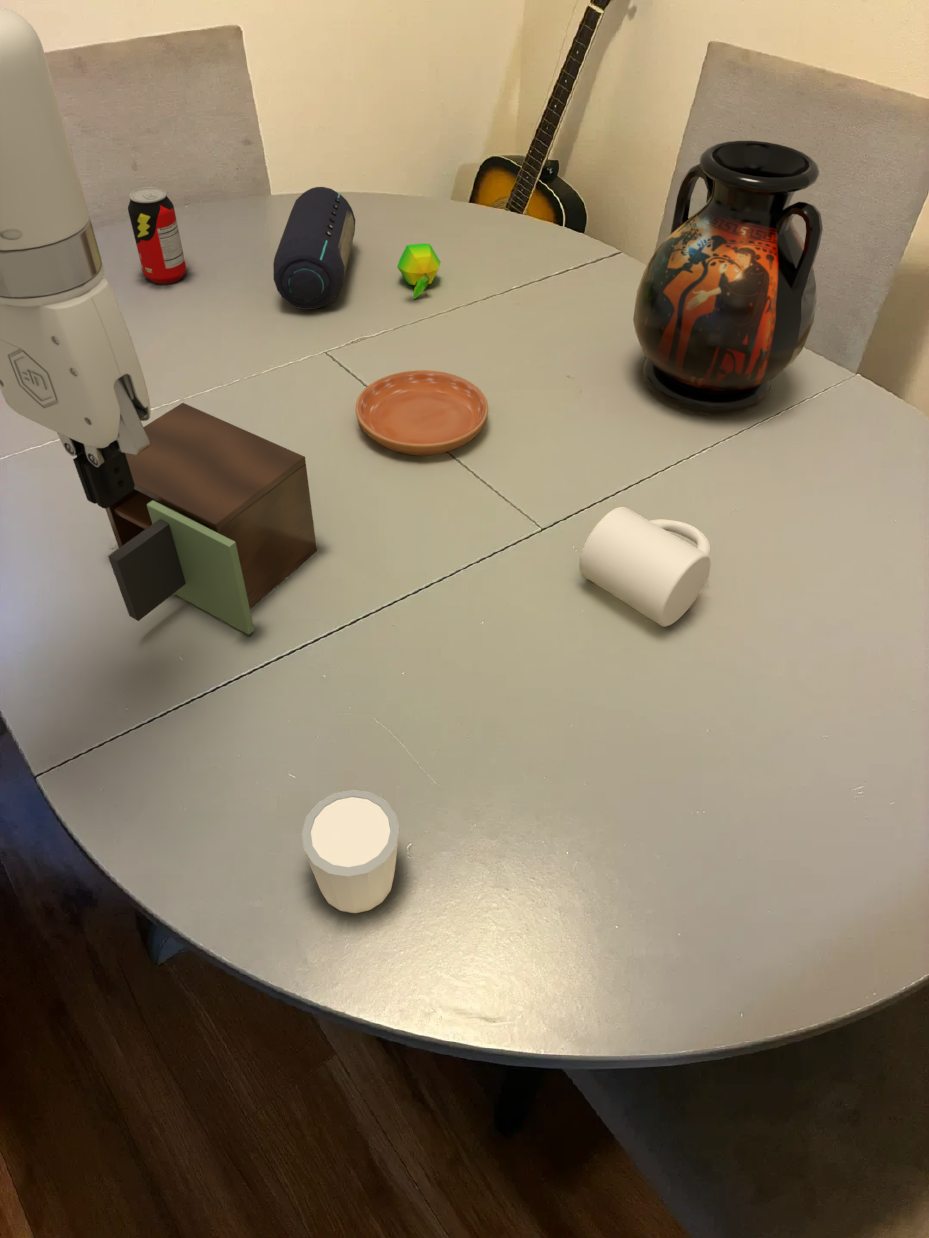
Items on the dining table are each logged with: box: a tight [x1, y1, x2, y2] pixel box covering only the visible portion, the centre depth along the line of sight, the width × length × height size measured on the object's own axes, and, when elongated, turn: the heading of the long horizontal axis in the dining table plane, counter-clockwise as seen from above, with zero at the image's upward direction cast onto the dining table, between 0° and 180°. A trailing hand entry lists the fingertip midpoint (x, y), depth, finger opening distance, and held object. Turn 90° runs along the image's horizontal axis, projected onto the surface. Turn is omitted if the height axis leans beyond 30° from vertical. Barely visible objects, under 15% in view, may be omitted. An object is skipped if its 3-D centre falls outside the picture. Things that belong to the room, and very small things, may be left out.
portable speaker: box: [272, 186, 356, 310], centre depth 131 cm, size 25×10×10 cm, turn 179°
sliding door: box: [107, 500, 255, 636], centre depth 80 cm, size 7×10×11 cm
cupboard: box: [105, 402, 318, 609], centre depth 87 cm, size 12×16×12 cm
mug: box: [578, 506, 712, 627], centre depth 87 cm, size 12×10×8 cm
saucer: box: [354, 369, 489, 457], centre depth 108 cm, size 16×16×3 cm
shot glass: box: [301, 789, 400, 914], centre depth 65 cm, size 7×7×7 cm
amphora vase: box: [632, 140, 824, 416], centre depth 107 cm, size 22×22×28 cm
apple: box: [396, 243, 441, 301], centre depth 132 cm, size 7×6×9 cm
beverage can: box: [127, 186, 187, 285], centre depth 129 cm, size 6×6×12 cm
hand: (112, 495), depth 67 cm, fingers closed
